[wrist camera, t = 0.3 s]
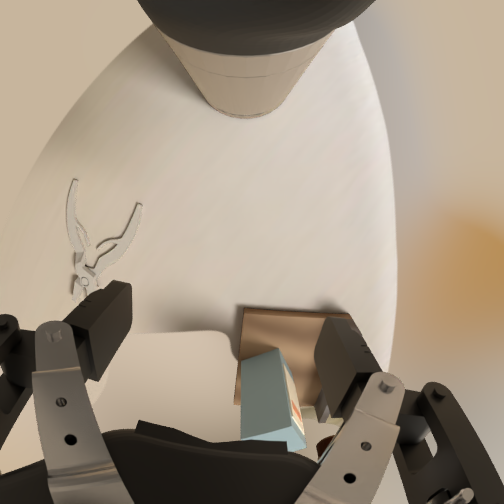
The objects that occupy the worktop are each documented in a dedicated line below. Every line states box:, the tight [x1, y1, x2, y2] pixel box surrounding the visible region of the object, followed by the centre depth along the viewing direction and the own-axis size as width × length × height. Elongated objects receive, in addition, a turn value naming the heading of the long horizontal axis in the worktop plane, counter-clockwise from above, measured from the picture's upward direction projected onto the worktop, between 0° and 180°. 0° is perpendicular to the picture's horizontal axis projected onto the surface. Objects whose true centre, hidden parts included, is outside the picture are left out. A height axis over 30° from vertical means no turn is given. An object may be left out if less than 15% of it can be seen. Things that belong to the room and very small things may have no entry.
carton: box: [241, 348, 307, 452], centre depth 28 cm, size 5×5×12 cm
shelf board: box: [234, 308, 362, 423], centre depth 32 cm, size 16×13×5 cm
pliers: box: [67, 179, 143, 303], centre depth 29 cm, size 10×2×15 cm
